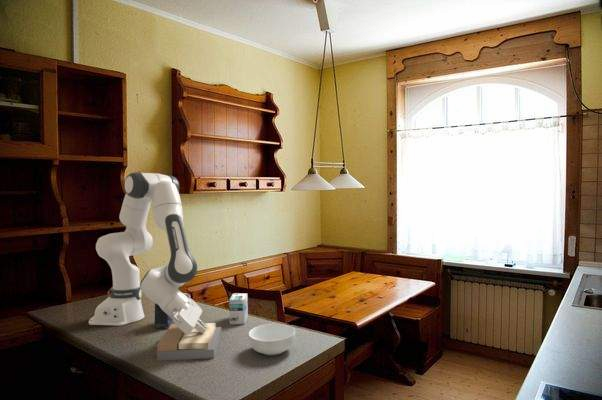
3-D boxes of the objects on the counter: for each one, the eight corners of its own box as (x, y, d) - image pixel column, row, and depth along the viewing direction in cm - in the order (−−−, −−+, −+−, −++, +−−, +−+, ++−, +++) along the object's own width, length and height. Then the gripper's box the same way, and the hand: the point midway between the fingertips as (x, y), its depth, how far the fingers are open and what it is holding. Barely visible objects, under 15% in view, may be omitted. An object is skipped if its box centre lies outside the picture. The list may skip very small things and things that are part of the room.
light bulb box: (245, 324, 170) (244, 299, 170) (229, 324, 170) (228, 299, 170) (248, 316, 181) (247, 292, 181) (233, 316, 181) (232, 292, 180)
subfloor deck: (157, 360, 135) (156, 345, 135) (172, 336, 157) (171, 323, 157) (214, 358, 137) (213, 343, 137) (221, 334, 159) (220, 321, 159)
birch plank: (178, 349, 137) (178, 343, 137) (189, 328, 157) (189, 323, 157) (208, 348, 138) (208, 342, 138) (215, 328, 158) (215, 323, 158)
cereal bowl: (262, 339, 154) (262, 320, 154) (302, 345, 148) (302, 326, 147) (239, 356, 138) (239, 336, 138) (283, 364, 132) (283, 343, 132)
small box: (168, 329, 165) (167, 304, 165) (154, 328, 166) (153, 303, 166) (180, 321, 175) (180, 297, 175) (167, 320, 177) (166, 296, 176)
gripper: (176, 307, 136) (206, 334, 137) (188, 292, 156) (214, 315, 157) (163, 321, 136) (194, 348, 137) (177, 304, 156) (203, 327, 157)
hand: (205, 330), depth 147 cm, fingers closed, pressing on birch plank
